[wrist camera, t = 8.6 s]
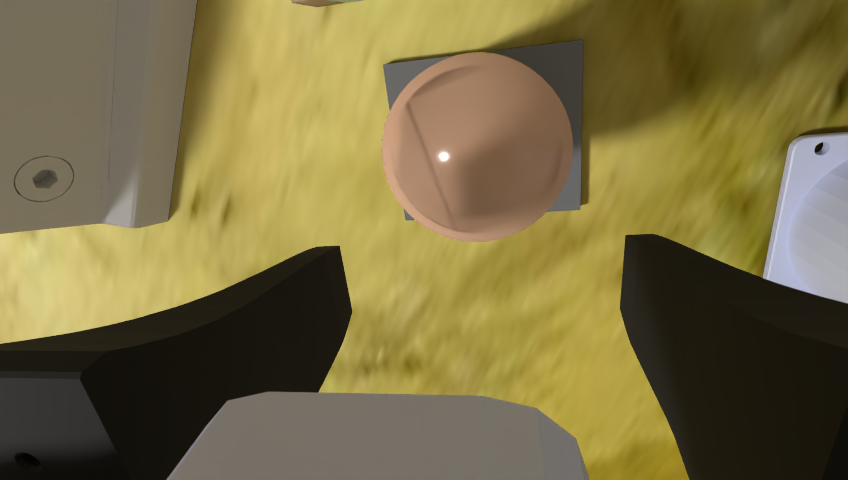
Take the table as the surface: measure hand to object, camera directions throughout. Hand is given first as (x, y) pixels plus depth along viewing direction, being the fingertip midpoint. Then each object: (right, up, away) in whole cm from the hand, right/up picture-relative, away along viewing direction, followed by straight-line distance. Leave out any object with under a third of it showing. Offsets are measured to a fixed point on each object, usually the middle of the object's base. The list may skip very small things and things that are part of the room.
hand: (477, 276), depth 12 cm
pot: (+1, +6, +8) cm, 10 cm away
